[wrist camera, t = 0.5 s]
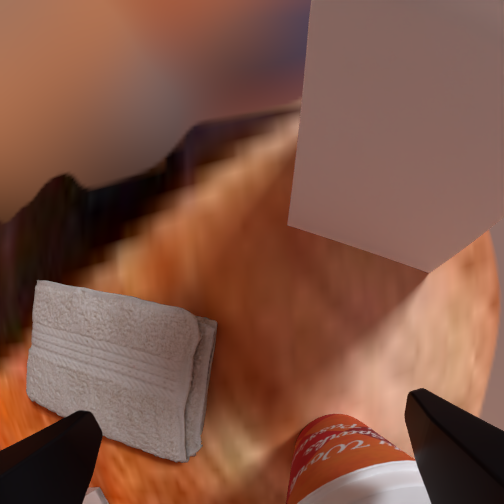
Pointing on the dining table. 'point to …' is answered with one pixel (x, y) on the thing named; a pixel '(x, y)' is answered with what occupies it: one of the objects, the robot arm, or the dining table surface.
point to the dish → (94, 496)
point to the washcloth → (123, 366)
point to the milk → (402, 126)
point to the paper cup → (351, 466)
